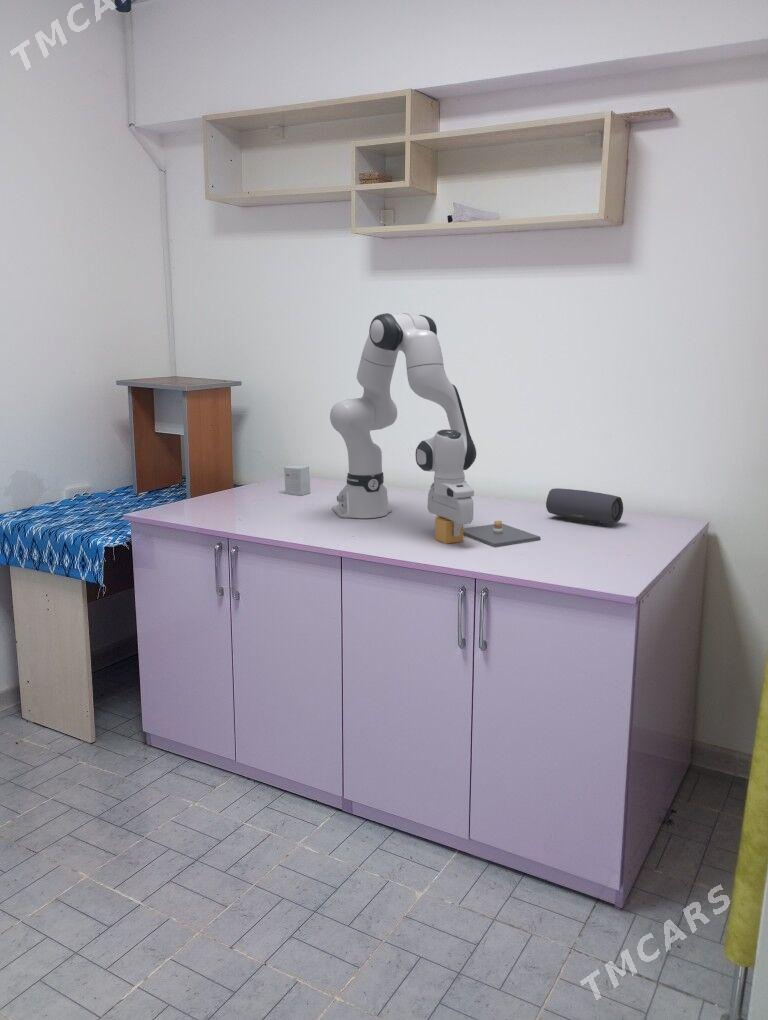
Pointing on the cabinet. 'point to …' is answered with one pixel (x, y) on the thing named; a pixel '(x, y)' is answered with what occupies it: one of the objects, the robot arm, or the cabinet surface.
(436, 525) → the wooden cube
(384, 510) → the robot arm
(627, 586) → the cabinet surface
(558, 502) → the bluetooth speaker
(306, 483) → the small box
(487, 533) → the plate
